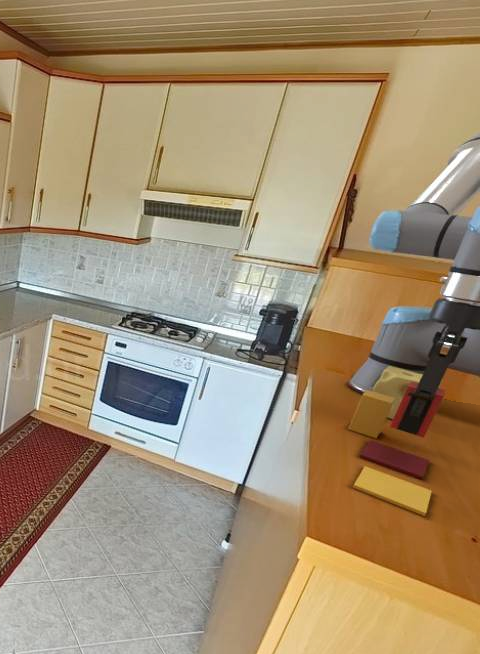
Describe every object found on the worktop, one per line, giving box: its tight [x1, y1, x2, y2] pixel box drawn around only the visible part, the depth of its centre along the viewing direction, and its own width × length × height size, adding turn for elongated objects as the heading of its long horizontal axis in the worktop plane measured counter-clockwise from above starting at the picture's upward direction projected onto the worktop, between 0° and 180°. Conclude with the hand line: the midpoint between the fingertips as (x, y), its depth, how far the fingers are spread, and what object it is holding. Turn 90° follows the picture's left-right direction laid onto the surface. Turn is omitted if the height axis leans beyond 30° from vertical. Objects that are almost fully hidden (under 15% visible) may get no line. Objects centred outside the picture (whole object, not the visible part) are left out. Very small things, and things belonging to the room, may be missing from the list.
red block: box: [389, 381, 447, 438], centre depth 87 cm, size 5×5×8 cm
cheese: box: [373, 366, 443, 420], centre depth 112 cm, size 10×11×10 cm
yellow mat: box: [352, 465, 433, 517], centre depth 79 cm, size 10×9×1 cm
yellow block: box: [347, 390, 395, 439], centre depth 101 cm, size 5×5×8 cm
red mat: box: [359, 439, 430, 480], centre depth 90 cm, size 10×9×1 cm
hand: (408, 427), depth 88 cm, fingers closed on red block, 5 cm apart
